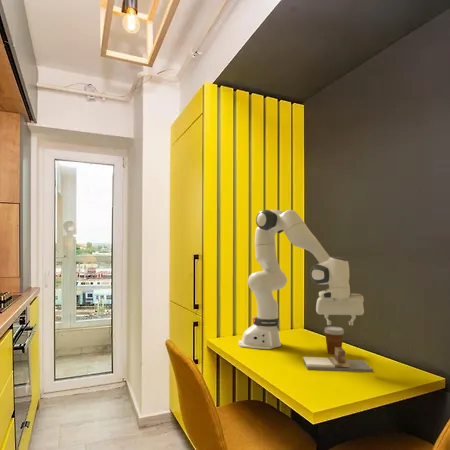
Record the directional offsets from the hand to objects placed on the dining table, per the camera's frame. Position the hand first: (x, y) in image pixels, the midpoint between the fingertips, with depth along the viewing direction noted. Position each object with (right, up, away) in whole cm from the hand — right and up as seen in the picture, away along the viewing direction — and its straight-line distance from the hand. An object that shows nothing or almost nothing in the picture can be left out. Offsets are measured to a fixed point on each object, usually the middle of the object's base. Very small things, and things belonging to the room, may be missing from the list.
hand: (340, 325), depth 156 cm
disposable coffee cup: (+3, -19, +18) cm, 26 cm away
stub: (0, -16, -1) cm, 17 cm away
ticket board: (-2, -18, -1) cm, 18 cm away
